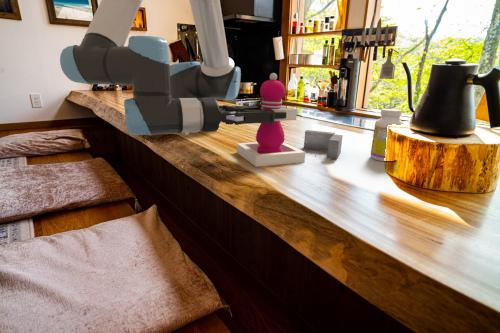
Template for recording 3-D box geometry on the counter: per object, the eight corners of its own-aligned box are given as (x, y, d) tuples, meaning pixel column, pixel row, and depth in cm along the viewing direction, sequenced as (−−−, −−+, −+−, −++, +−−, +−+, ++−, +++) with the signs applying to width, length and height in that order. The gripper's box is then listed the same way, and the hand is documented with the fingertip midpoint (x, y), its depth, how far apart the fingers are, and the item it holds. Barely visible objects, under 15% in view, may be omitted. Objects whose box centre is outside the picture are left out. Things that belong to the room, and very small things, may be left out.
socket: (236, 152, 81) (236, 143, 80) (279, 149, 86) (280, 140, 85) (255, 166, 70) (256, 156, 69) (304, 161, 74) (305, 152, 74)
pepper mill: (281, 159, 73) (287, 73, 67) (252, 157, 75) (255, 72, 69) (284, 152, 80) (290, 73, 74) (257, 150, 82) (261, 72, 75)
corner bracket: (300, 147, 89) (301, 130, 88) (321, 145, 92) (323, 129, 91) (331, 160, 76) (333, 141, 75) (354, 158, 79) (356, 139, 78)
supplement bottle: (376, 154, 84) (384, 107, 80) (401, 159, 80) (410, 110, 76) (365, 158, 79) (372, 109, 76) (391, 164, 75) (400, 111, 71)
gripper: (191, 125, 77) (273, 121, 85) (209, 140, 61) (308, 134, 70) (190, 94, 74) (275, 94, 83) (209, 102, 59) (311, 101, 67)
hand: (290, 112), depth 76 cm, fingers closed on pepper mill, 5 cm apart
